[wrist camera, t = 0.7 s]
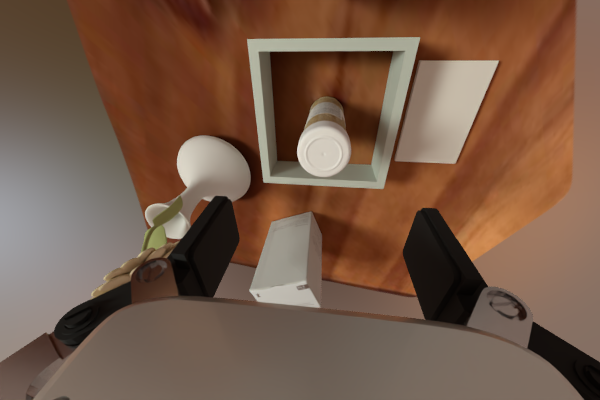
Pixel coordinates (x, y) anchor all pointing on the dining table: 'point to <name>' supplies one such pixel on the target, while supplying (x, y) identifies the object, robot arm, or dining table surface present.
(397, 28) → the dining table surface
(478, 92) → the mat
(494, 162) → the dining table surface
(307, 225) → the skincare box
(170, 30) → the dining table surface
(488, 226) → the dining table surface
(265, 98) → the open box
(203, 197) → the flower in vase
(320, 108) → the sprinkles bottle
